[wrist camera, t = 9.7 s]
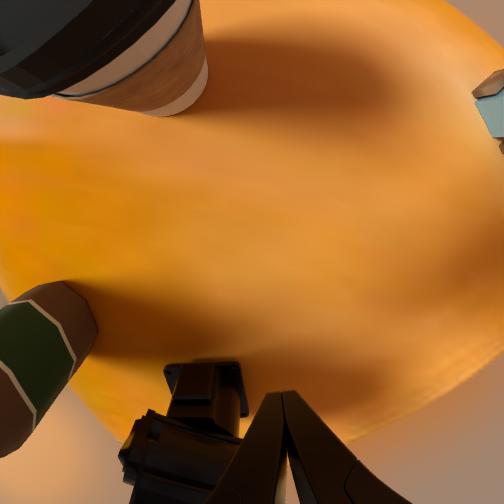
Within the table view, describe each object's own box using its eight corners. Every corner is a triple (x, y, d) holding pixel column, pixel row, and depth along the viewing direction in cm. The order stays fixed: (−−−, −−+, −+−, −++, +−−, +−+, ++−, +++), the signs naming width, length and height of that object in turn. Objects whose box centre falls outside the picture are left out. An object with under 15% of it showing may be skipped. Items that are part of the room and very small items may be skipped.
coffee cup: (233, 27, 16) (212, -140, 1) (219, 137, 18) (131, 43, 4) (123, 33, 16) (5, -68, 1) (105, 136, 18) (-76, 118, 3)
